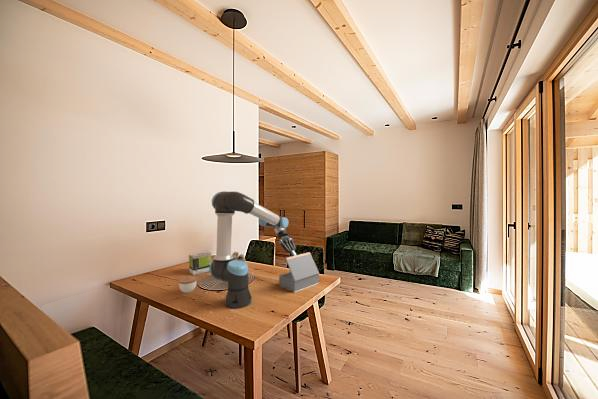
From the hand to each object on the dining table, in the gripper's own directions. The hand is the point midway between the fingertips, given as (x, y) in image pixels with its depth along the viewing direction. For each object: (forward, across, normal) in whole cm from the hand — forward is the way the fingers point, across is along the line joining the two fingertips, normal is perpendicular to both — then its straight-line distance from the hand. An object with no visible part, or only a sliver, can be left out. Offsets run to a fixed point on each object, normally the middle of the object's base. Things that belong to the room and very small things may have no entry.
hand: (296, 259), depth 175 cm
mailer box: (+15, +1, -9) cm, 17 cm away
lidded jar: (-15, +60, -40) cm, 74 cm away
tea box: (-38, +39, -64) cm, 84 cm away
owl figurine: (-22, +19, -47) cm, 55 cm away
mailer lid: (+7, +1, +3) cm, 8 cm away
